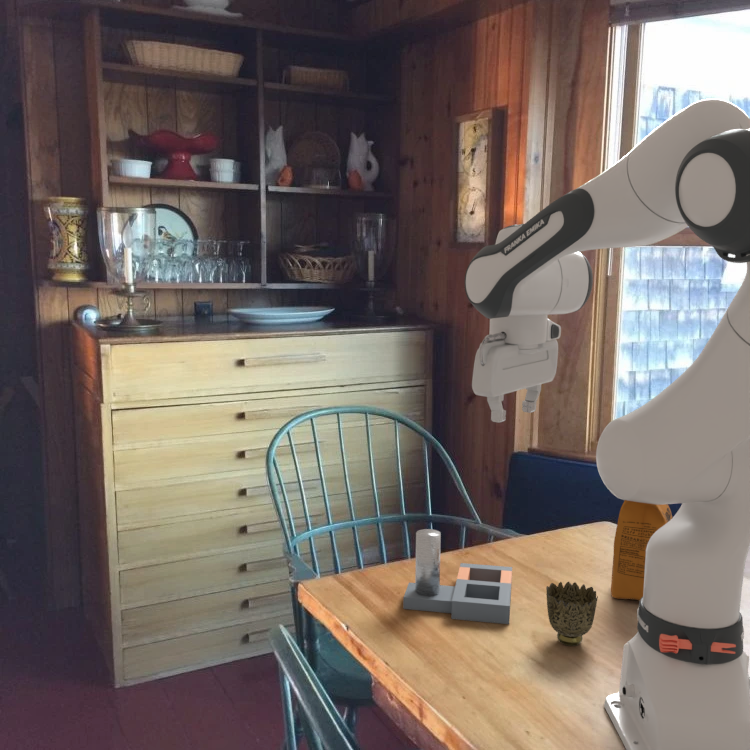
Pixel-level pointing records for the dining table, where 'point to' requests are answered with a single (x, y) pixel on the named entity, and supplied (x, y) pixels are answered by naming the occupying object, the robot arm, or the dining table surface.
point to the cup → (571, 611)
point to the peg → (427, 562)
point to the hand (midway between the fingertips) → (513, 416)
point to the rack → (469, 595)
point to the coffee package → (634, 546)
